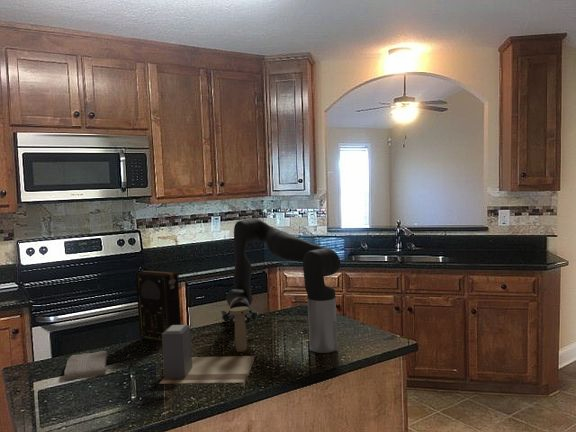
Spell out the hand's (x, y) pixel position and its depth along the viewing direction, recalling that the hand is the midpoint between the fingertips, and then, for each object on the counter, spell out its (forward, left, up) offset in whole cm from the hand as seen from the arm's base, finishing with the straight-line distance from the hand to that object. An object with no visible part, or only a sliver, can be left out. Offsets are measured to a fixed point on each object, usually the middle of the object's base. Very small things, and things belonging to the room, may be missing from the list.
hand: (240, 320), depth 171 cm
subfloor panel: (+5, +26, -8) cm, 28 cm away
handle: (-2, +10, -8) cm, 13 cm away
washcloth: (+46, +20, -9) cm, 51 cm away
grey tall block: (+14, +29, -7) cm, 32 cm away
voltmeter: (+31, -7, -8) cm, 33 cm away
